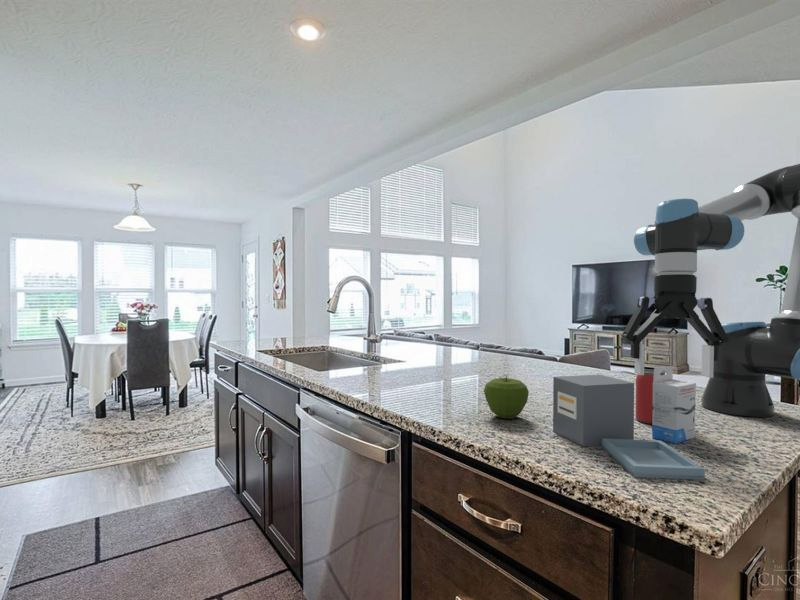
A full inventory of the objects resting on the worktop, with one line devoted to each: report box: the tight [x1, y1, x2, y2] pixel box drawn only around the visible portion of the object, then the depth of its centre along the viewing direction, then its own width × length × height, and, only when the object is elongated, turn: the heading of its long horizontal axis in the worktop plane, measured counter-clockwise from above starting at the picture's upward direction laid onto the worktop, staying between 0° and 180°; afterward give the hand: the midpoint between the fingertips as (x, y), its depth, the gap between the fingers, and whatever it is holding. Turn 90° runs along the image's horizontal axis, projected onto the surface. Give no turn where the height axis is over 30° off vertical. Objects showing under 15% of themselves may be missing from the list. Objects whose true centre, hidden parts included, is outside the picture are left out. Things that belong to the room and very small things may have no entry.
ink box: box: [651, 365, 697, 445], centre depth 91 cm, size 8×5×15 cm, turn 123°
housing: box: [552, 374, 635, 447], centre depth 92 cm, size 13×10×12 cm
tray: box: [601, 438, 706, 481], centre depth 77 cm, size 11×14×2 cm
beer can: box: [635, 368, 666, 425], centre depth 103 cm, size 7×7×12 cm
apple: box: [483, 376, 529, 420], centre depth 106 cm, size 11×10×10 cm
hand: (673, 375), depth 91 cm, fingers open, 13 cm apart
